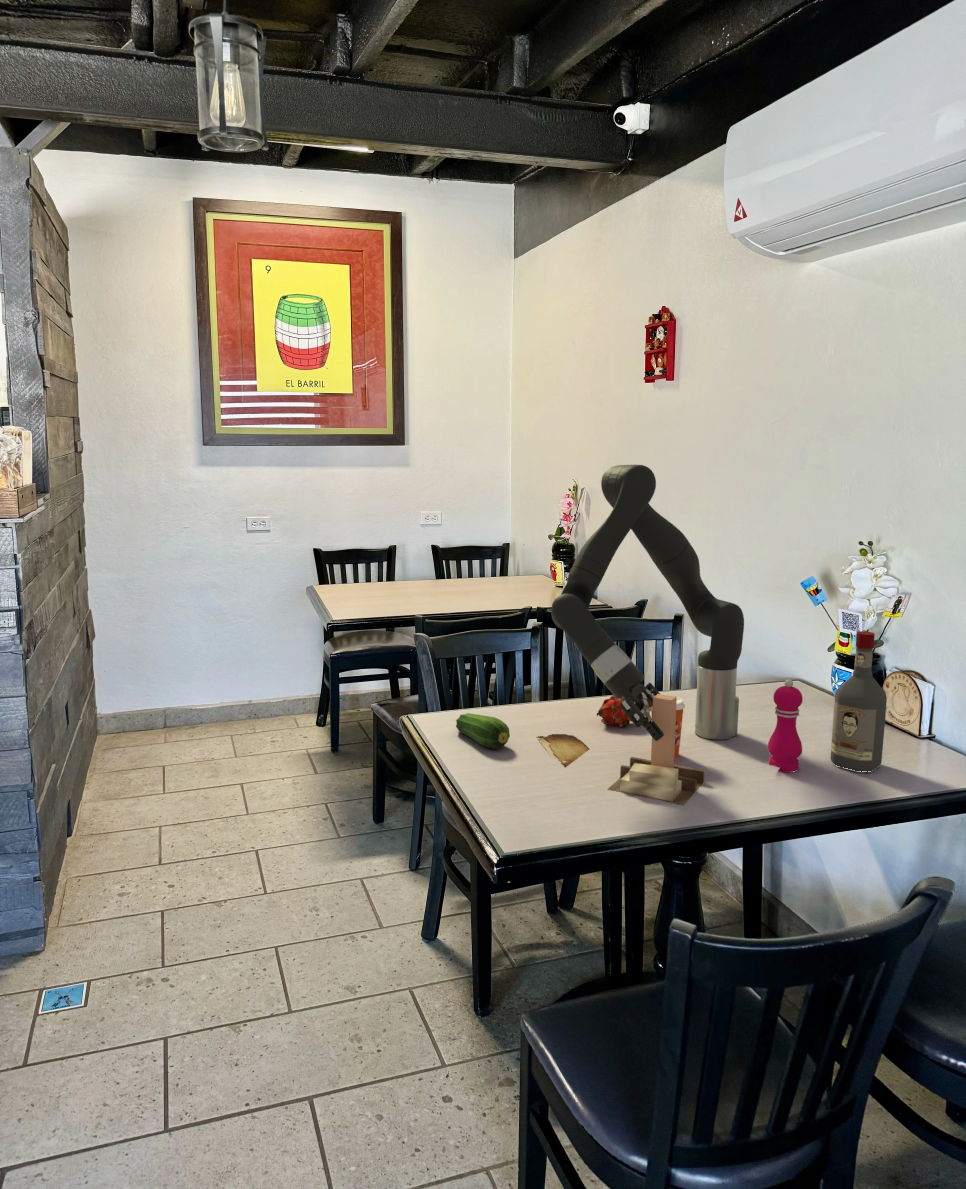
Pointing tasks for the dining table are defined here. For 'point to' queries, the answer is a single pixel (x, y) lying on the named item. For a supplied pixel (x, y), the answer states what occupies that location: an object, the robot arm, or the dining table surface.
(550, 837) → the dining table surface
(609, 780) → the dining table surface
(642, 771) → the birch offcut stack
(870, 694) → the liquor
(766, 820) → the dining table surface
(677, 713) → the paper cup
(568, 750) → the parchment
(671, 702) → the terracotta block
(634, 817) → the dining table surface
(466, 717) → the vegetable
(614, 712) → the dragon fruit
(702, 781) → the walnut rack
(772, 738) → the pepper mill
